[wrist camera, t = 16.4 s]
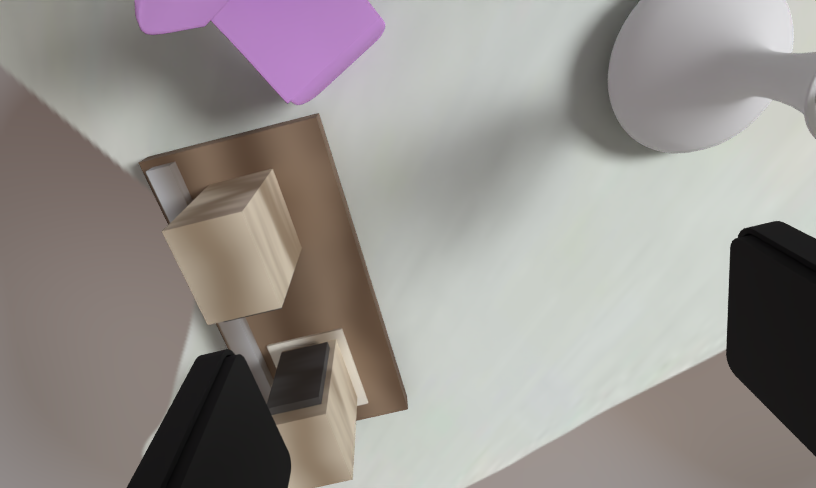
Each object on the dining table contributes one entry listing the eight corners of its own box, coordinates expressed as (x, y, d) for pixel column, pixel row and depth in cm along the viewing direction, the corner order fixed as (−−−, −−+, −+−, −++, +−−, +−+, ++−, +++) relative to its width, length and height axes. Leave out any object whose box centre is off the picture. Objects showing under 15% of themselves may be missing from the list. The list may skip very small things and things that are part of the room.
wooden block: (306, 409, 41) (290, 492, 34) (278, 345, 39) (255, 422, 31) (357, 397, 41) (352, 479, 34) (333, 332, 38) (323, 406, 31)
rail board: (318, 113, 33) (297, 146, 25) (407, 396, 44) (413, 491, 35) (148, 156, 34) (68, 204, 25) (275, 426, 44) (249, 526, 35)
